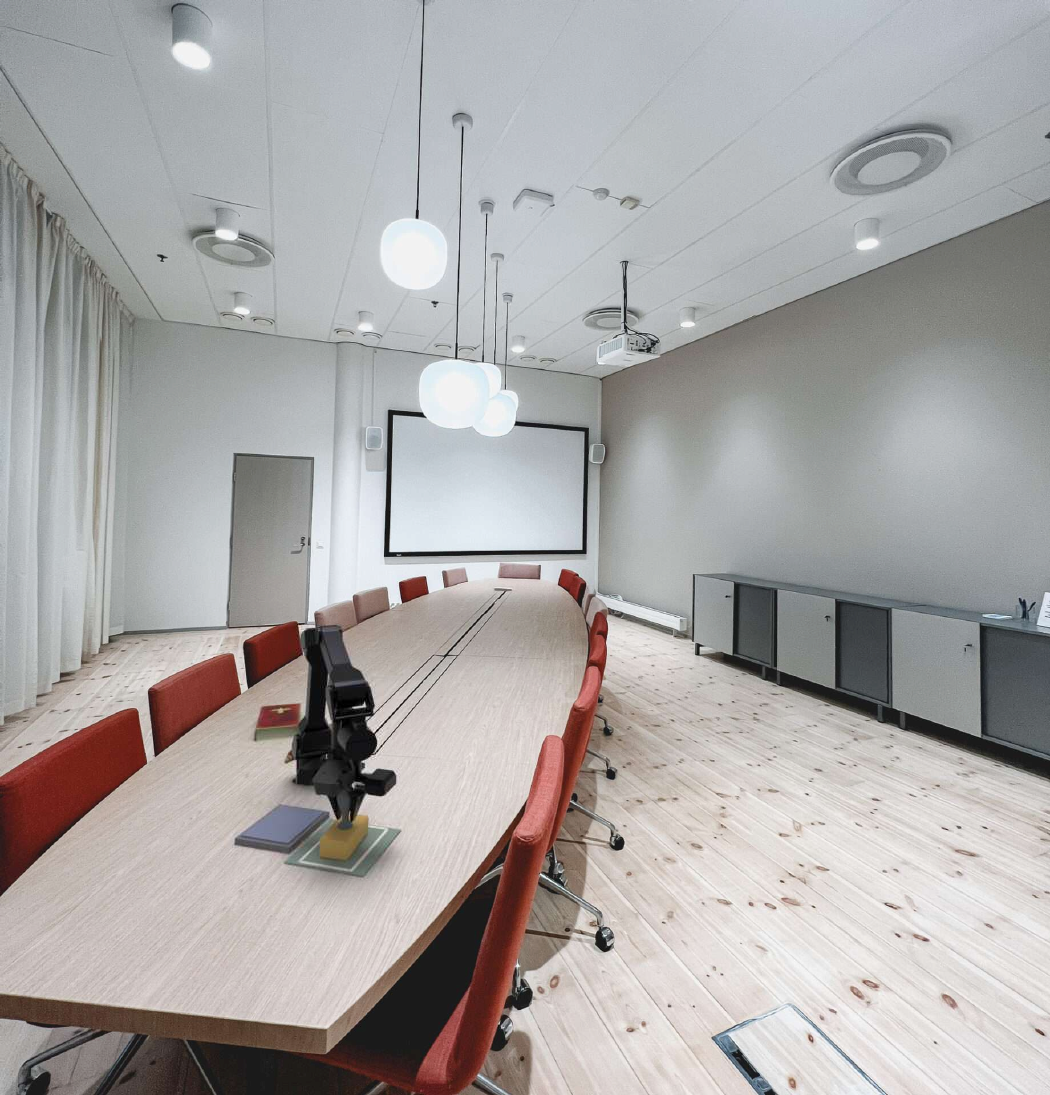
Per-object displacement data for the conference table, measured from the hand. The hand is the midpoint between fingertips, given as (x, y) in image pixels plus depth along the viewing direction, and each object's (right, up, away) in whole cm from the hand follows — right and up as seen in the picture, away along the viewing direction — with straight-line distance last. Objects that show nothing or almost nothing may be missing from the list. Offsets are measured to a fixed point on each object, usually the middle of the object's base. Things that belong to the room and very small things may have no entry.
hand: (345, 819), depth 113 cm
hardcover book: (-40, -2, +63) cm, 74 cm away
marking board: (0, -5, 0) cm, 5 cm away
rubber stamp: (0, -5, 0) cm, 5 cm away
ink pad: (-14, -5, +5) cm, 16 cm away
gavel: (-26, -3, +47) cm, 54 cm away
